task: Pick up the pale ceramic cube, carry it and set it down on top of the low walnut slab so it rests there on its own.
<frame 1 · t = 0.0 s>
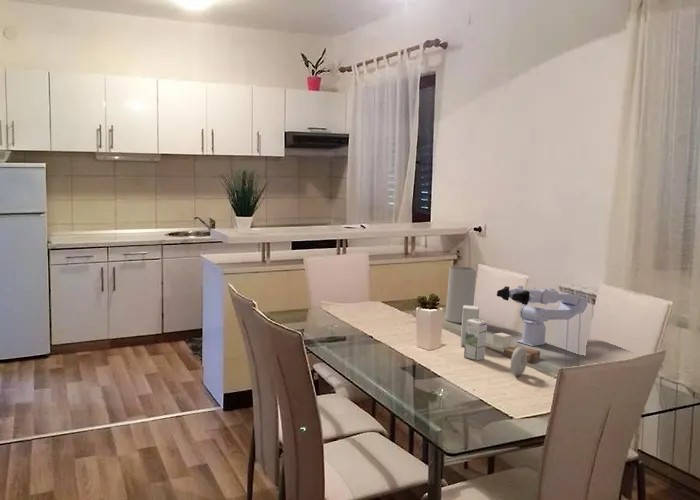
hand: (505, 295, 261), 22 cm above the table, tool horizontal, fingers open, 7 cm apart
donut: (517, 375, 229), on the table
syrup box: (473, 358, 247), on the table
slab: (521, 357, 253), on the table
skincare box: (468, 345, 267), on the table
cube: (501, 346, 267), on the table
cylinder vase: (458, 321, 311), on the table
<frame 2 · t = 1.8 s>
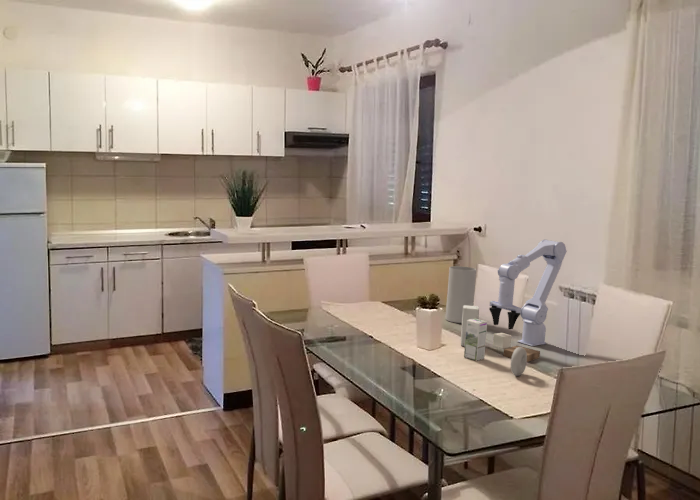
hand: (503, 326, 266), 8 cm above the table, tool pointing down, fingers open, 7 cm apart
nothing on the table moved.
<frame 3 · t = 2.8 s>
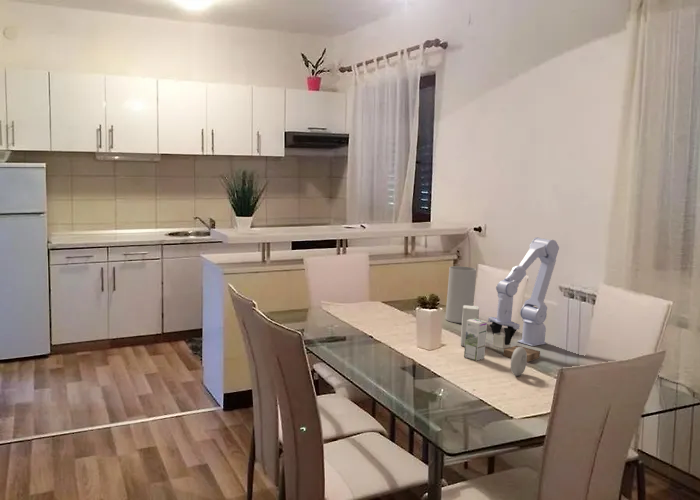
hand: (501, 342, 267), 1 cm above the table, tool pointing down, fingers closed on cube, 5 cm apart
cube: (501, 346, 267), on the table, touching gripper
everything else where it was.
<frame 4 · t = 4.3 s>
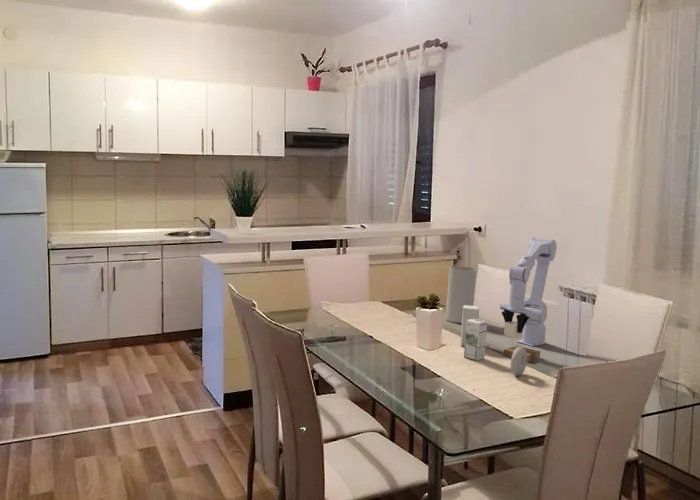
hand: (514, 330, 258), 9 cm above the table, tool pointing down, fingers closed on cube, 5 cm apart
cube: (513, 335, 259), point 7 cm above the table, touching gripper
everything else where it was.
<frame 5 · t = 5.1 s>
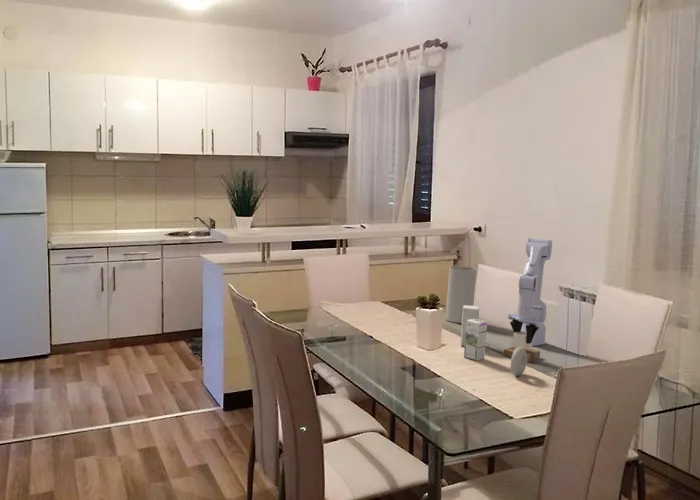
hand: (522, 341, 253), 6 cm above the table, tool pointing down, fingers closed on cube, 5 cm apart
cube: (521, 346, 253), point 4 cm above the table, touching gripper
everything else where it was.
when the fingers open (5 cm above the table, at t = 5.7 s): cube stays where it is, resting on slab.
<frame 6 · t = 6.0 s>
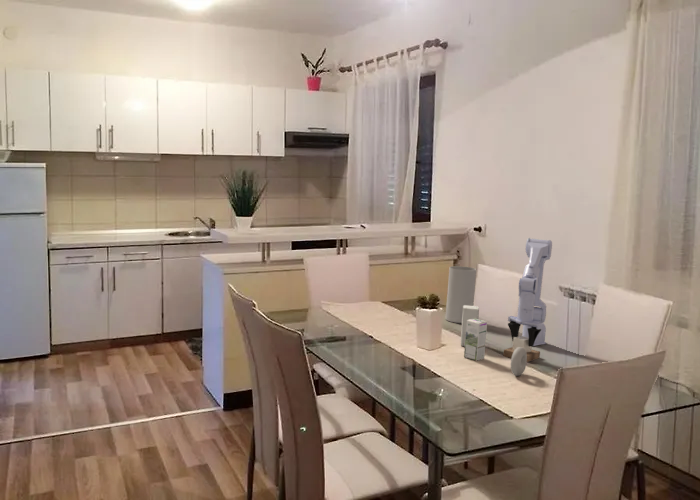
hand: (522, 343, 253), 5 cm above the table, tool pointing down, fingers open, 7 cm apart
slab: (521, 358, 253), on the table, touching cube
cube: (521, 350, 253), point 2 cm above the table, touching slab
everything else where it was.
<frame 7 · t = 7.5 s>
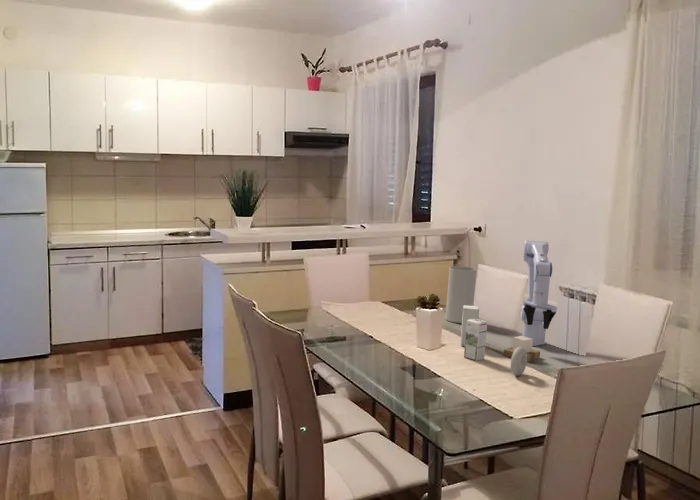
hand: (537, 326, 260), 10 cm above the table, tool pointing down, fingers open, 7 cm apart
nothing on the table moved.
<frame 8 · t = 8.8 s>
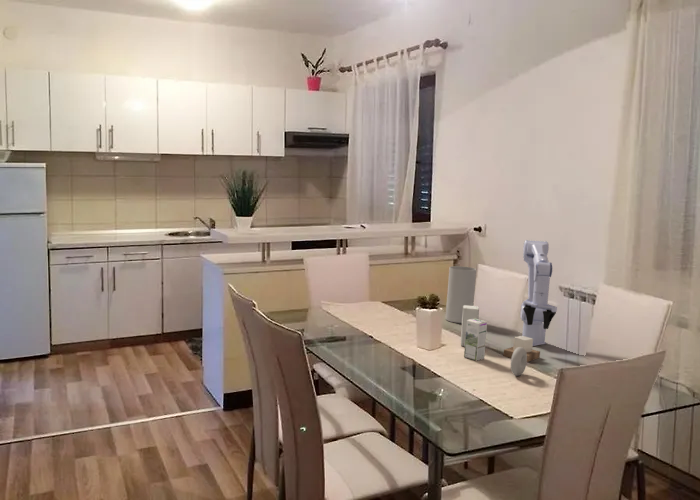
hand: (537, 326, 260), 10 cm above the table, tool pointing down, fingers open, 7 cm apart
nothing on the table moved.
at the end: cube 0.2 cm off-centre on the slab, point 3.0 cm above the slab's base; cube tilted 0°; the gripper is holding nothing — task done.
